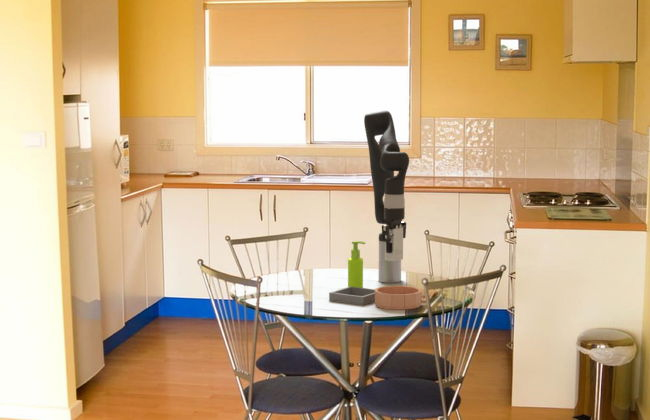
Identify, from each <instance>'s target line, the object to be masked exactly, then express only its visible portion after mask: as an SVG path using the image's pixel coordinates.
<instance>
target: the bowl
mask: <svg viewBox="0 0 650 420" xmlns="http://www.w3.org/2000/svg"><path fill="white" fill-rule="evenodd" d="M374 289H375V301H374V306H375V307H377V308H379V309H382V310H383V309H385V310H393V311H404V310H406V311H407V310H415V309H418V308H420V307H421V306H422V289H421V288H418V287H416V286H409V285H408V286H407V285H387V286H379V287H377V288H374Z"/></svg>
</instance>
